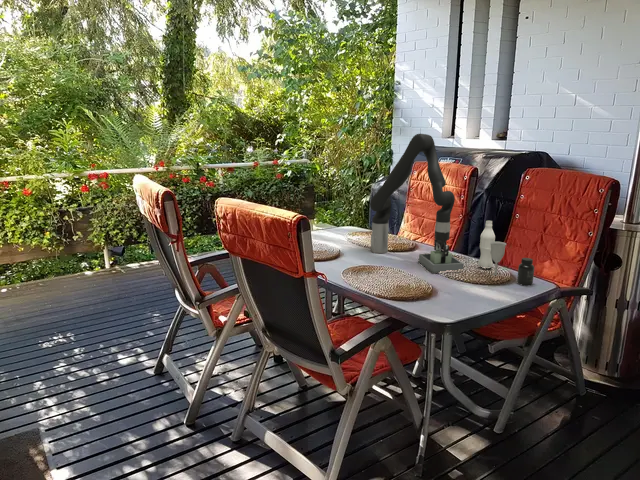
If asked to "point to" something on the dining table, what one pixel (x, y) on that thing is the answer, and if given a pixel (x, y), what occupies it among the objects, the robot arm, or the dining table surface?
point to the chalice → (497, 253)
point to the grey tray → (436, 268)
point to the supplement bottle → (525, 272)
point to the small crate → (439, 257)
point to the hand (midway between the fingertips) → (440, 261)
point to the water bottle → (486, 245)
